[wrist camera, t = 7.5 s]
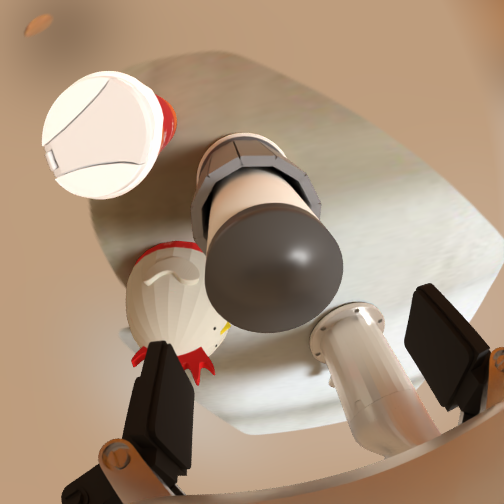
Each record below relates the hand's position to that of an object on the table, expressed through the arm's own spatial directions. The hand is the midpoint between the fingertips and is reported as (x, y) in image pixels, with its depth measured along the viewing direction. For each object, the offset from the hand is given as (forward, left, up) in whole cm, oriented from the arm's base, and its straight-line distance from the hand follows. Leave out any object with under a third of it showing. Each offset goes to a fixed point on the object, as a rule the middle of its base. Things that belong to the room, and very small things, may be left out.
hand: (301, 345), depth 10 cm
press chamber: (+1, 0, -24) cm, 24 cm away
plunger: (+1, 0, -21) cm, 21 cm away
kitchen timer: (-13, +8, -24) cm, 29 cm away
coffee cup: (+7, +10, -24) cm, 27 cm away
